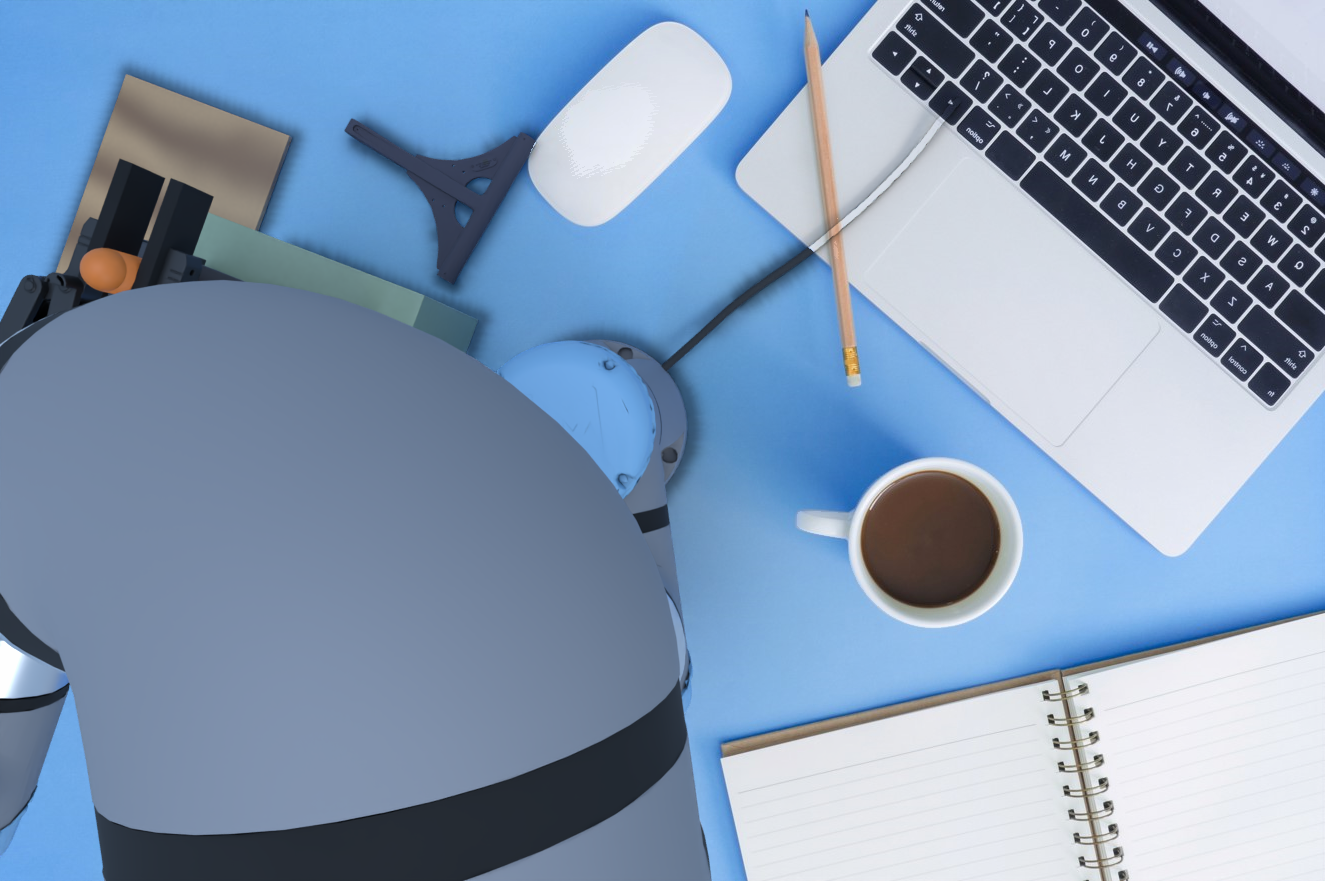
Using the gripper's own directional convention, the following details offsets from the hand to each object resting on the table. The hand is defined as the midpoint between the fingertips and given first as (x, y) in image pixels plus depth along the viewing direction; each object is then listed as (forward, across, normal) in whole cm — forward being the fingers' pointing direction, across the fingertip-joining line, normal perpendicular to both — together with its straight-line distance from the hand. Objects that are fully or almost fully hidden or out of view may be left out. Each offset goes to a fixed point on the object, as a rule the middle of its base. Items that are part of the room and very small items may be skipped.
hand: (167, 178), depth 46 cm
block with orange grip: (-6, 0, -16) cm, 17 cm away
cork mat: (-1, -21, -32) cm, 38 cm away
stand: (-6, 0, -32) cm, 32 cm away
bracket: (+10, 0, -32) cm, 34 cm away
